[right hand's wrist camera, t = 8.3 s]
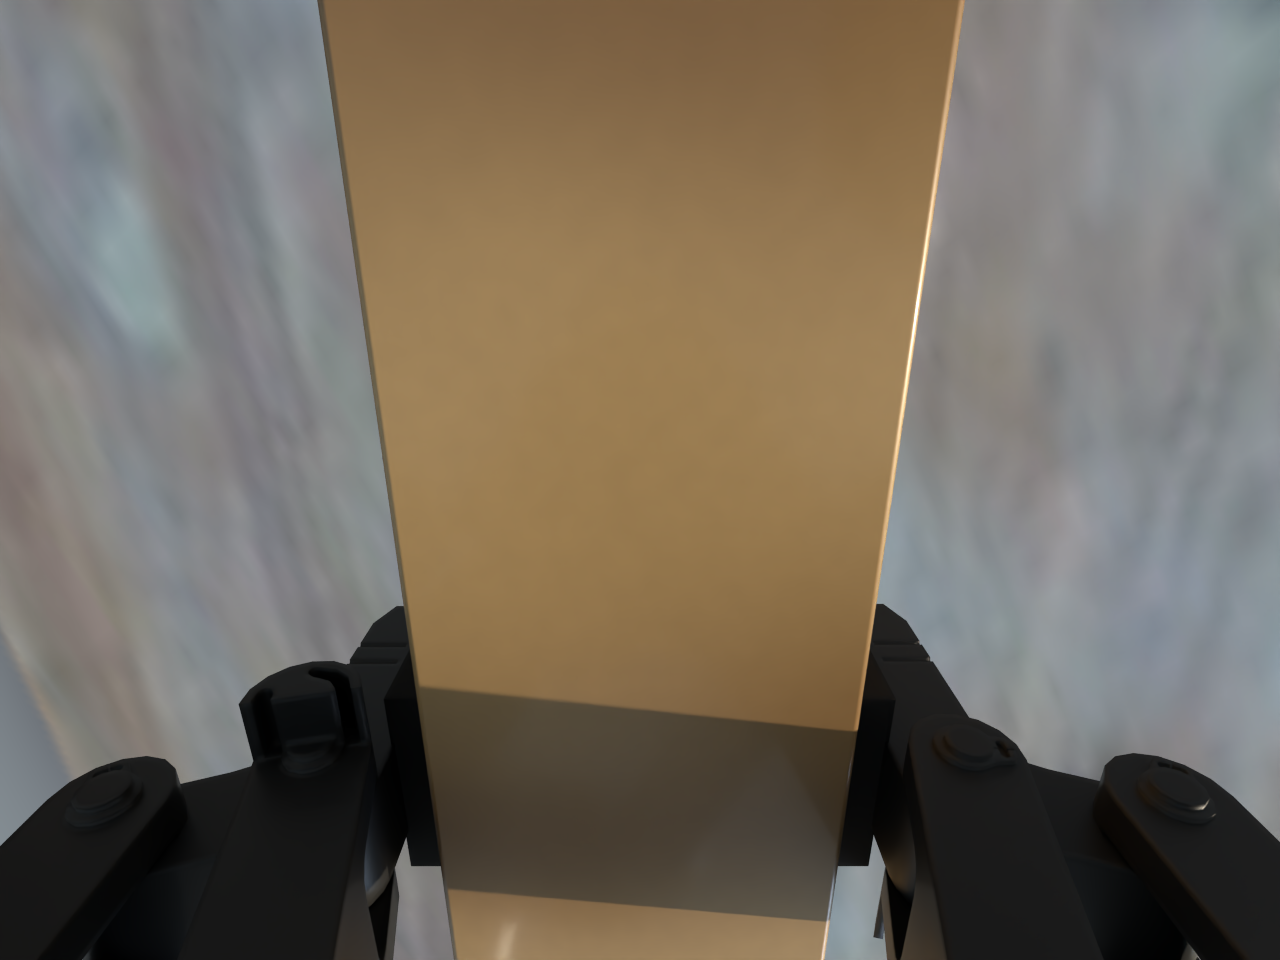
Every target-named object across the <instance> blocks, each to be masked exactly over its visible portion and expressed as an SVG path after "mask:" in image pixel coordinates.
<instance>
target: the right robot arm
mask: <svg viewBox="0 0 1280 960" xmlns="http://www.w3.org/2000/svg"><path fill="white" fill-rule="evenodd" d="M239 707H240V711H241V715H242V719H243V723H244V726H245V730H246V734H247V738H248V742H249V745H250V749H251V753H252V757H253V764H252V766H251V767H247V768H244V769H241V770H237V771H234V772H231V773H226V774H222V775H218V776H213V777H209V778H205V779H200V780H196V781H192V782H187V783H183V784H180V781H179V778H178V775H177V772H176V769H175V768H174V767H173V766H172V765H171V764H170V763H169V762H168V761H166V760H165V759H160V758H155V757H149V756H144V757H136V758H128V759H122V760H119V761H116V762H113V763H110V764H107V765H104V766H101V767H98V768H95V769H93V770H92V771H90V772H88V773H86V774H84V775H82V776H80V777H78V778H77V779H75V780H73V781H71V782H69V783H68V784H67V785H65V786H64V787H63V788H62V789H60V790H59V791H58V792H57V793H55V794H54V795H53V796H51V797H50V798H49V799H48V800H47V801H46V802H45V803H44V804H43V805H42V806H41V807H39V808H38V809H37V810H36V811H35V812H34V813H33V814H32V815H31V816H30V817H29V818H28V819H27V820H26V821H25V822H24V823H23V824H22V825H21V826H20V827H19V828H18V829H17V830H16V831H15V832H14V833H13V834H12V835H11V836H10V837H9V838H8V839H7V840H6V841H5V842H4V843H3V844H2V845H1V846H0V960H82V959H83V960H393V954H394V943H395V933H396V923H397V912H398V902H399V892H398V885H397V878H396V872H395V866H396V863H397V860H398V858H399V855H400V852H401V850H402V847H403V844H404V842H405V839H406V837H407V843H408V849H409V855H410V861H411V866H441V864H440V857H439V850H438V843H437V835H436V828H435V821H434V814H433V807H432V800H431V793H430V786H429V779H428V772H427V765H426V758H425V751H424V744H423V737H422V730H421V723H420V716H419V709H418V702H417V695H416V688H415V681H414V674H413V667H412V660H411V653H410V646H409V639H408V632H407V625H406V618H405V611H404V606H396V607H395V608H394V609H392V610H391V611H389V612H388V613H387V614H385V615H384V616H383V617H381V618H380V619H379V620H377V621H376V622H375V623H373V625H372V626H371V628H370V629H369V631H368V633H367V634H366V636H365V637H364V639H363V640H362V642H361V646H360V647H358V648H357V650H356V651H355V653H354V654H353V656H352V657H351V659H350V664H347V665H346V664H342V663H339V662H335V661H317V662H309V663H304V664H300V665H296V666H292V667H288V668H286V669H284V670H282V671H279V672H277V673H275V674H273V675H270V676H268V677H267V678H265V679H264V680H262V681H261V682H260V683H258V684H257V685H255V686H254V687H253V688H251V689H250V690H249V691H248V693H247V694H246V695H245V697H244V698H243V699H242V700H241V702H240V703H239ZM873 835H874V837H875V839H876V842H877V845H878V847H879V850H880V853H881V855H882V858H883V861H884V863H885V866H886V867H885V872H884V878H883V884H882V889H881V895H880V900H879V906H878V912H877V917H876V923H875V930H874V937H875V938H880V939H883V934H884V931H885V942H886V952H887V960H1199V958H1200V959H1201V960H1280V842H1279V841H1278V840H1277V839H1276V838H1275V837H1274V836H1273V835H1272V834H1271V833H1270V832H1269V831H1268V830H1267V829H1266V828H1265V827H1264V826H1263V825H1262V824H1261V823H1260V822H1259V821H1258V820H1257V819H1256V818H1255V817H1254V816H1253V815H1252V814H1251V813H1250V812H1249V811H1247V810H1246V809H1245V808H1244V807H1243V806H1242V805H1241V804H1240V803H1239V802H1238V801H1237V800H1236V799H1235V798H1234V797H1233V796H1232V795H1231V794H1229V793H1228V792H1227V791H1225V790H1224V789H1223V788H1222V787H1220V786H1219V785H1218V784H1217V783H1215V782H1214V781H1213V780H1211V779H1210V778H1208V777H1206V776H1204V775H1202V774H1200V773H1198V772H1197V771H1195V770H1193V769H1191V768H1189V767H1187V766H1185V765H1183V764H1180V763H1177V762H1174V761H1171V760H1168V759H1165V758H1162V757H1159V756H1152V755H1144V754H1136V753H1132V754H1126V755H1120V756H1115V757H1114V758H1113V759H1112V760H1111V761H1109V762H1108V763H1107V764H1106V765H1105V767H1104V770H1103V773H1102V776H1101V780H1100V781H1097V780H1092V779H1088V778H1084V777H1079V776H1075V775H1070V774H1066V773H1062V772H1057V771H1053V770H1049V769H1045V768H1042V767H1039V766H1035V765H1032V764H1029V763H1028V762H1027V760H1026V758H1025V757H1024V755H1023V754H1022V752H1021V751H1020V749H1019V748H1018V746H1017V745H1016V744H1015V743H1014V742H1013V741H1012V740H1010V739H1009V738H1008V737H1007V736H1005V735H1004V734H1003V733H1002V732H1001V731H999V730H997V729H995V728H993V727H991V726H989V725H987V724H985V723H983V722H981V721H979V720H976V719H972V718H969V717H968V715H967V714H966V712H965V711H964V709H963V707H962V706H961V704H960V703H959V701H958V700H957V698H956V697H955V695H954V694H953V692H952V690H951V689H950V687H949V686H948V684H947V683H946V681H945V680H944V678H943V677H942V675H941V674H940V672H939V670H938V669H937V667H936V666H935V664H934V663H933V662H930V657H929V655H928V653H927V652H926V650H925V649H924V647H923V646H922V645H920V644H919V640H918V638H917V637H916V635H915V633H914V632H913V630H912V629H911V627H910V626H909V624H908V623H907V621H906V620H904V619H903V618H902V617H900V616H899V615H898V614H896V613H895V612H893V611H892V610H891V609H889V608H888V607H887V606H885V605H884V604H876V609H875V616H874V623H873V629H872V636H871V643H870V650H869V657H868V664H867V670H866V677H865V684H864V691H863V698H862V704H861V711H860V718H859V725H858V732H857V739H856V745H855V752H854V759H853V766H852V773H851V779H850V786H849V793H848V800H847V807H846V813H845V820H844V827H843V834H842V841H841V848H840V854H839V861H838V866H868V865H869V859H870V853H871V847H872V841H873ZM1197 956H1199V958H1198V957H1197Z"/></svg>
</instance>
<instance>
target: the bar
mask: <svg viewBox="0 0 1280 960" xmlns="http://www.w3.org/2000/svg"><path fill="white" fill-rule="evenodd" d="M317 1H318V8H319V15H320V22H321V29H322V36H323V43H324V50H325V57H326V64H327V71H328V78H329V85H330V92H331V99H332V106H333V113H334V120H335V127H336V134H337V141H338V148H339V155H340V162H341V169H342V176H343V183H344V190H345V197H346V204H347V211H348V218H349V225H350V232H351V239H352V246H353V253H354V260H355V267H356V274H357V281H358V288H359V295H360V302H361V309H362V316H363V323H364V330H365V337H366V344H367V351H368V358H369V365H370V372H371V379H372V387H373V394H374V401H375V408H376V415H377V422H378V429H379V436H380V443H381V450H382V457H383V464H384V471H385V478H386V485H387V492H388V499H389V506H390V513H391V520H392V527H393V534H394V541H395V548H396V555H397V562H398V569H399V576H400V583H401V590H402V597H403V604H404V611H405V618H406V625H407V632H408V639H409V646H410V653H411V660H412V667H413V674H414V681H415V688H416V695H417V702H418V709H419V716H420V723H421V730H422V737H423V744H424V751H425V758H426V765H427V772H428V779H429V786H430V793H431V800H432V807H433V814H434V821H435V828H436V835H437V843H438V850H439V857H440V864H441V871H442V878H443V885H444V892H445V899H446V906H447V913H448V920H449V927H450V934H451V941H452V948H453V955H454V960H824V957H825V950H826V943H827V936H828V929H829V923H830V916H831V909H832V902H833V895H834V888H835V882H836V875H837V868H838V861H839V854H840V848H841V841H842V834H843V827H844V820H845V813H846V807H847V800H848V793H849V786H850V779H851V773H852V766H853V759H854V752H855V745H856V739H857V732H858V725H859V718H860V711H861V704H862V698H863V691H864V684H865V677H866V670H867V664H868V657H869V650H870V643H871V636H872V629H873V623H874V616H875V609H876V602H877V595H878V589H879V582H880V575H881V568H882V561H883V554H884V548H885V541H886V534H887V527H888V520H889V514H890V507H891V500H892V493H893V486H894V479H895V473H896V466H897V459H898V452H899V445H900V439H901V432H902V425H903V418H904V411H905V404H906V398H907V391H908V384H909V377H910V370H911V364H912V357H913V350H914V343H915V336H916V329H917V323H918V316H919V309H920V302H921V295H922V289H923V282H924V275H925V268H926V261H927V254H928V248H929V241H930V234H931V227H932V220H933V214H934V207H935V200H936V193H937V186H938V180H939V173H940V166H941V159H942V152H943V145H944V139H945V132H946V125H947V118H948V111H949V105H950V98H951V91H952V84H953V77H954V70H955V64H956V57H957V50H958V43H959V36H960V30H961V23H962V16H963V9H964V2H965V0H317Z"/></svg>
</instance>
